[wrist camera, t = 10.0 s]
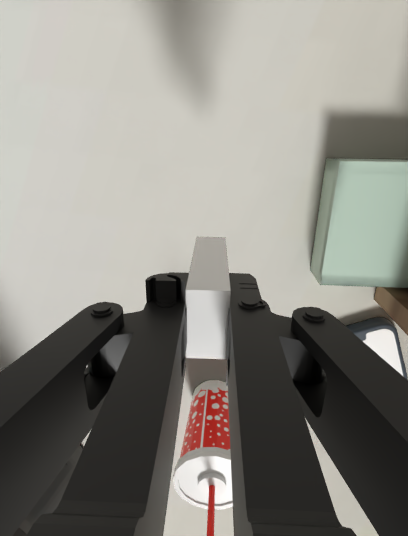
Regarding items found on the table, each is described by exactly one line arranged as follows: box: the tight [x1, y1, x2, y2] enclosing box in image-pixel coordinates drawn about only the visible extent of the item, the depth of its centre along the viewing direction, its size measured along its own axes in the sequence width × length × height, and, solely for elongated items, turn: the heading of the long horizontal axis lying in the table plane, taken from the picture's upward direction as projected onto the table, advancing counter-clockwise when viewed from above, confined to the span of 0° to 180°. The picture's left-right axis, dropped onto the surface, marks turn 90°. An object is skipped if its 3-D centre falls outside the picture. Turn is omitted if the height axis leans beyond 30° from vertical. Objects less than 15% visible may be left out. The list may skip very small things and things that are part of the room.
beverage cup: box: [173, 380, 233, 536], centre depth 27 cm, size 6×6×14 cm
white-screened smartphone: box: [346, 317, 408, 379], centre depth 32 cm, size 9×2×16 cm
